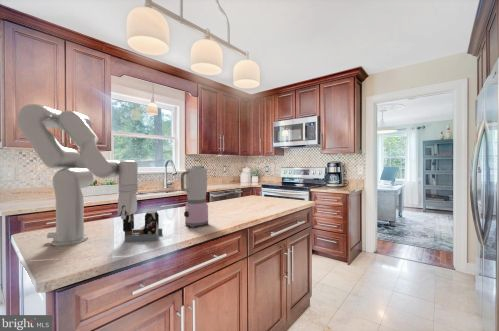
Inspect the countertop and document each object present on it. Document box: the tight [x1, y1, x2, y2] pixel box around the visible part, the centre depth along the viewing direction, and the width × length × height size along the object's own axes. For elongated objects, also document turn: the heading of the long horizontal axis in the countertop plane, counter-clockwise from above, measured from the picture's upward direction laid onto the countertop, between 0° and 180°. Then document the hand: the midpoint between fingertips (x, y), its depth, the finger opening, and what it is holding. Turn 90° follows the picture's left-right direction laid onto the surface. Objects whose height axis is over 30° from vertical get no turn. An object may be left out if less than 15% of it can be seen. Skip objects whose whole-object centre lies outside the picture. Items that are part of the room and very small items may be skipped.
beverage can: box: [144, 210, 160, 238], centre depth 106 cm, size 6×6×12 cm
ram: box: [124, 215, 145, 236], centre depth 105 cm, size 8×7×10 cm
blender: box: [180, 165, 209, 229], centre depth 127 cm, size 16×12×32 cm
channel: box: [124, 228, 163, 243], centre depth 105 cm, size 13×10×3 cm
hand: (128, 229), depth 105 cm, fingers closed on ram, 2 cm apart
